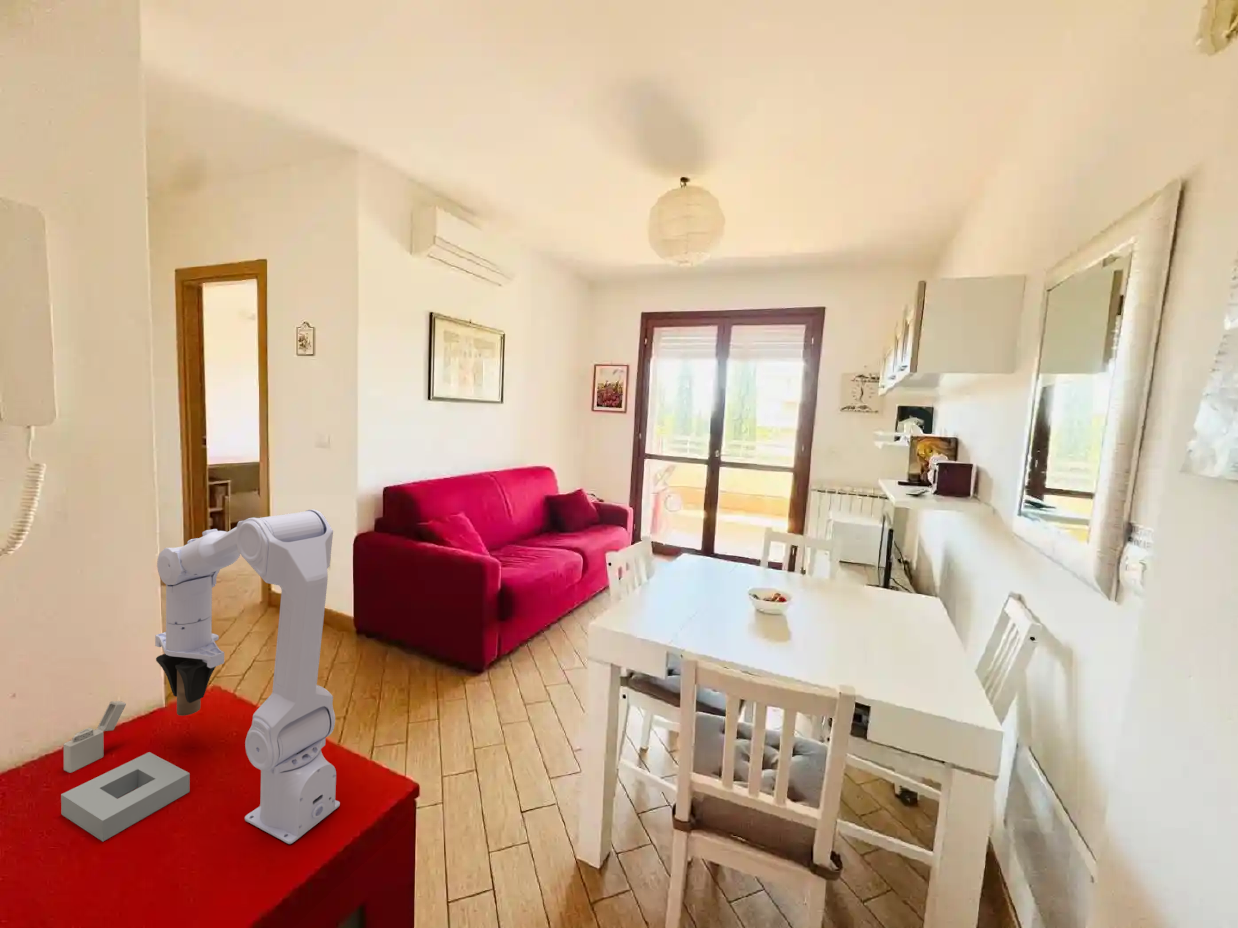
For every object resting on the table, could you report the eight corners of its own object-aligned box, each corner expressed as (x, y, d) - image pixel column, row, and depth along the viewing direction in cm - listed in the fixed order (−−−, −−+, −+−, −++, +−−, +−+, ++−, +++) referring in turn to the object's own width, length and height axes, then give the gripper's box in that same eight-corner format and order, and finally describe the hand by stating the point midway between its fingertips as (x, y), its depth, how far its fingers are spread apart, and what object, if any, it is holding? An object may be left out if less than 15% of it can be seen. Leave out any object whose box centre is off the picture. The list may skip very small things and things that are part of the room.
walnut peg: (204, 708, 85) (205, 662, 85) (183, 717, 83) (184, 670, 82) (193, 703, 86) (193, 658, 86) (172, 712, 84) (172, 665, 83)
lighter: (70, 772, 78) (69, 723, 77) (63, 769, 79) (62, 720, 78) (126, 745, 85) (126, 699, 84) (119, 742, 85) (119, 697, 85)
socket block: (189, 791, 77) (189, 773, 76) (102, 841, 67) (102, 820, 67) (149, 769, 80) (149, 751, 80) (61, 814, 71) (61, 794, 70)
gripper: (244, 619, 84) (243, 696, 85) (189, 600, 89) (189, 674, 91) (196, 634, 78) (195, 718, 79) (139, 613, 83) (139, 692, 84)
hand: (188, 696), depth 84 cm, fingers closed on walnut peg, 3 cm apart
